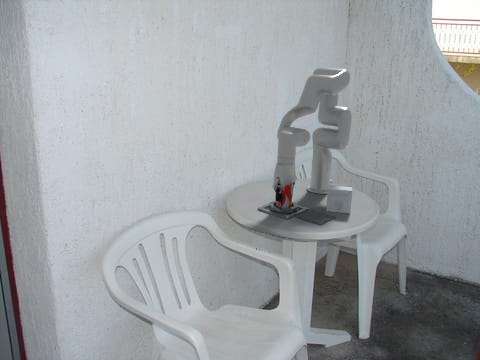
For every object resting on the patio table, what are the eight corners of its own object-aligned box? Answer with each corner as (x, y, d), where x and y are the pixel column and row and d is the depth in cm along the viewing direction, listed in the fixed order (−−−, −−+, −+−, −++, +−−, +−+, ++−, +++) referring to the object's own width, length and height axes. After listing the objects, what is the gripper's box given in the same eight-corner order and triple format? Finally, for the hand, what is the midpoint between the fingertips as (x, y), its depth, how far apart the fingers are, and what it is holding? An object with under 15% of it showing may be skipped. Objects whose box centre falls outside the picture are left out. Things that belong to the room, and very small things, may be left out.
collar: (279, 201, 213) (279, 196, 212) (308, 210, 203) (309, 204, 202) (257, 209, 202) (257, 204, 201) (287, 219, 192) (287, 214, 191)
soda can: (290, 211, 198) (292, 185, 195) (274, 210, 200) (275, 183, 196) (292, 206, 205) (293, 180, 201) (276, 204, 206) (277, 179, 202)
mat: (311, 210, 203) (311, 209, 203) (335, 217, 196) (335, 216, 195) (296, 217, 194) (296, 215, 194) (320, 225, 187) (320, 223, 187)
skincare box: (349, 208, 207) (352, 186, 204) (350, 214, 201) (352, 191, 198) (326, 206, 209) (328, 184, 206) (325, 211, 203) (328, 188, 200)
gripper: (290, 154, 204) (288, 192, 209) (266, 161, 192) (264, 201, 197) (305, 157, 199) (302, 196, 205) (281, 165, 187) (278, 206, 192)
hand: (283, 198), depth 201 cm, fingers closed on soda can, 6 cm apart
